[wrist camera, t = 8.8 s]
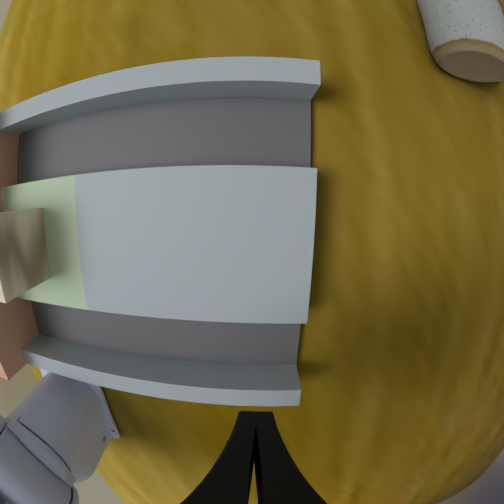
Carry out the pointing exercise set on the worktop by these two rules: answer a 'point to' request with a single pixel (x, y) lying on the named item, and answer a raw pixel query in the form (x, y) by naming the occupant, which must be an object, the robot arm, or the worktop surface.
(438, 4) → the ceramic mug
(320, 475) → the worktop surface
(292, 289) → the box
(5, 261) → the birch block
